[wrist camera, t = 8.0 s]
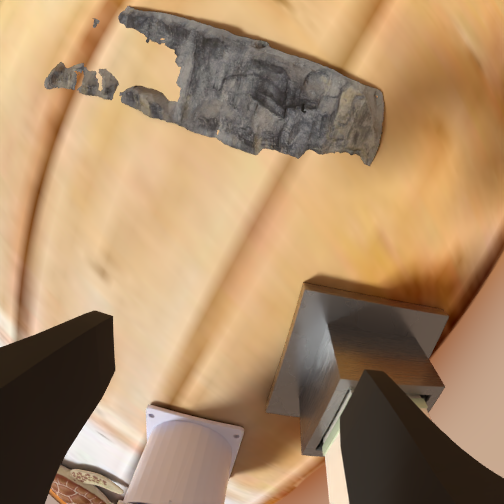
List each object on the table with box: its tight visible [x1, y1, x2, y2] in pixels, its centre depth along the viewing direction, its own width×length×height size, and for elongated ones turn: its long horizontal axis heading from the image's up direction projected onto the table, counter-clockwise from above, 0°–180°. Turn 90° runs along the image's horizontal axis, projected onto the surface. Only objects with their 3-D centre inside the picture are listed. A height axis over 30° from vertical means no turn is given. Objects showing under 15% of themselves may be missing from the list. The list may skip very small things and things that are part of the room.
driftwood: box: [44, 6, 384, 166], centre depth 15 cm, size 21×7×2 cm, turn 66°
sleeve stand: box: [266, 282, 449, 457], centre depth 17 cm, size 10×10×6 cm
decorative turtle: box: [51, 465, 124, 504], centre depth 28 cm, size 18×17×5 cm
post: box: [322, 390, 432, 504], centre depth 12 cm, size 4×4×8 cm
